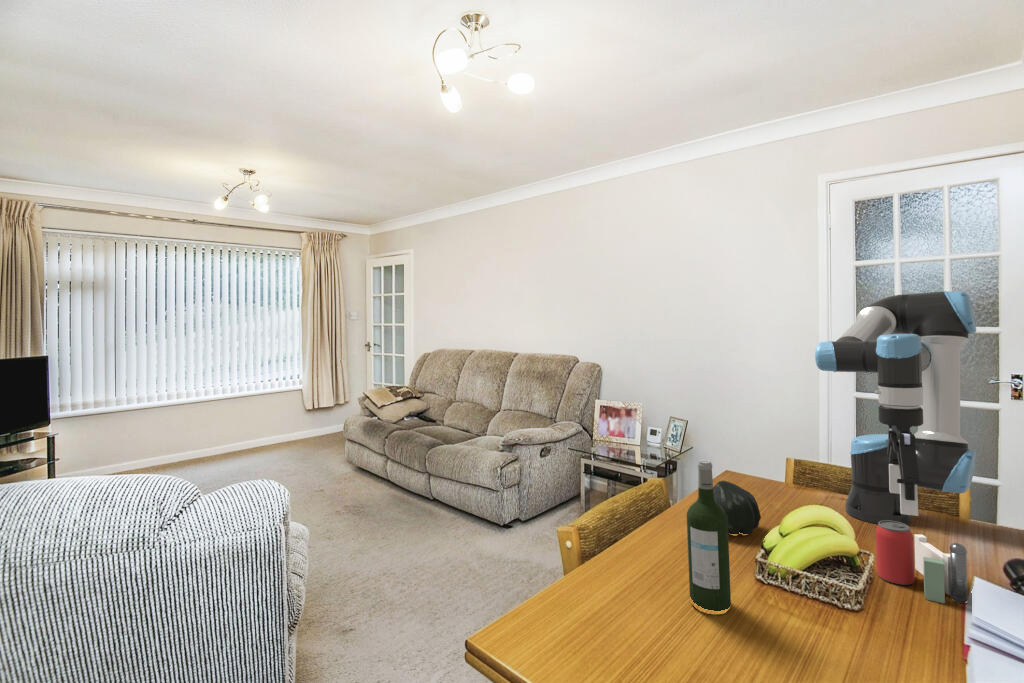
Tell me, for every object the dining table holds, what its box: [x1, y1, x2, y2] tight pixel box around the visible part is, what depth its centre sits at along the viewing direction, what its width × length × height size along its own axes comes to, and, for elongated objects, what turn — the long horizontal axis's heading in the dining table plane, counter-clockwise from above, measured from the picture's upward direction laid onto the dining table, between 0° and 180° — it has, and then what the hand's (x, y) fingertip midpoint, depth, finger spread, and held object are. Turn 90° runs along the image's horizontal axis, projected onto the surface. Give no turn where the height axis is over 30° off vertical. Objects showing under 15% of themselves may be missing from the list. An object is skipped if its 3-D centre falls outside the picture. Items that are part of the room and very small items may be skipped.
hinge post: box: [949, 542, 968, 605], centre depth 98 cm, size 3×3×12 cm
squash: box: [713, 480, 762, 535], centre depth 135 cm, size 14×15×15 cm
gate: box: [913, 533, 951, 596], centre depth 105 cm, size 11×2×8 cm, turn 169°
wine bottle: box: [686, 459, 732, 611], centre depth 100 cm, size 8×8×30 cm
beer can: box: [875, 520, 915, 586], centre depth 107 cm, size 7×7×12 cm
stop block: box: [923, 557, 946, 604], centre depth 99 cm, size 2×3×8 cm, turn 54°
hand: (902, 503), depth 105 cm, fingers open, 13 cm apart
